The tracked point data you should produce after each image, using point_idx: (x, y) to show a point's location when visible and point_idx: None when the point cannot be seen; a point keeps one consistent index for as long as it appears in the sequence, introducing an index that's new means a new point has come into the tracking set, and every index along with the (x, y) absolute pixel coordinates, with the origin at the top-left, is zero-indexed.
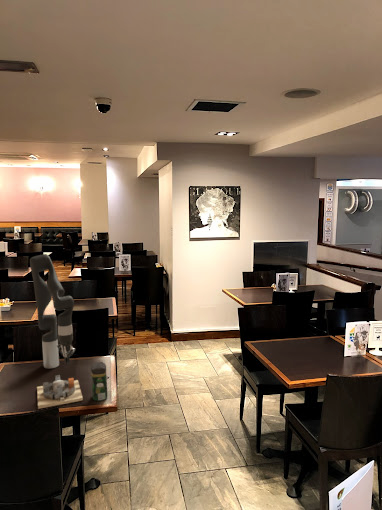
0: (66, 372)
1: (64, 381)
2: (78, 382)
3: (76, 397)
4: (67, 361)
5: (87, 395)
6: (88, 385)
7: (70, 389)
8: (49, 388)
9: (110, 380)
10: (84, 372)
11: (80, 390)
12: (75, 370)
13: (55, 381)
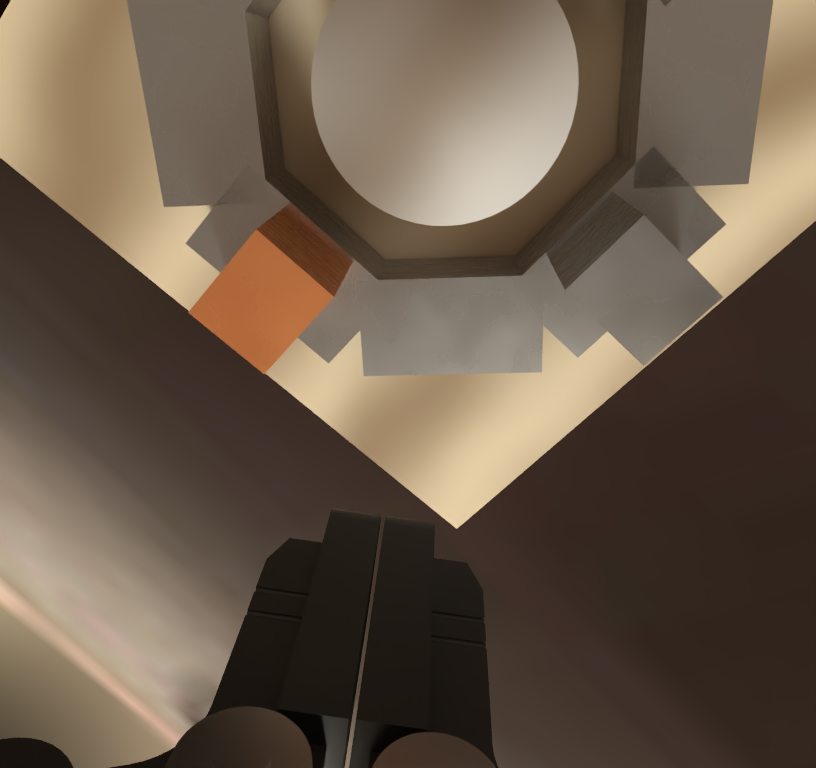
0: (810, 659)
1: (513, 327)
2: (390, 473)
3: (31, 69)
4: (269, 576)
5: (43, 265)
6: (260, 492)
7: (168, 120)
8: (638, 4)
9: (119, 677)
10: (566, 727)
11: (168, 291)
12: (720, 732)
13: (554, 103)
